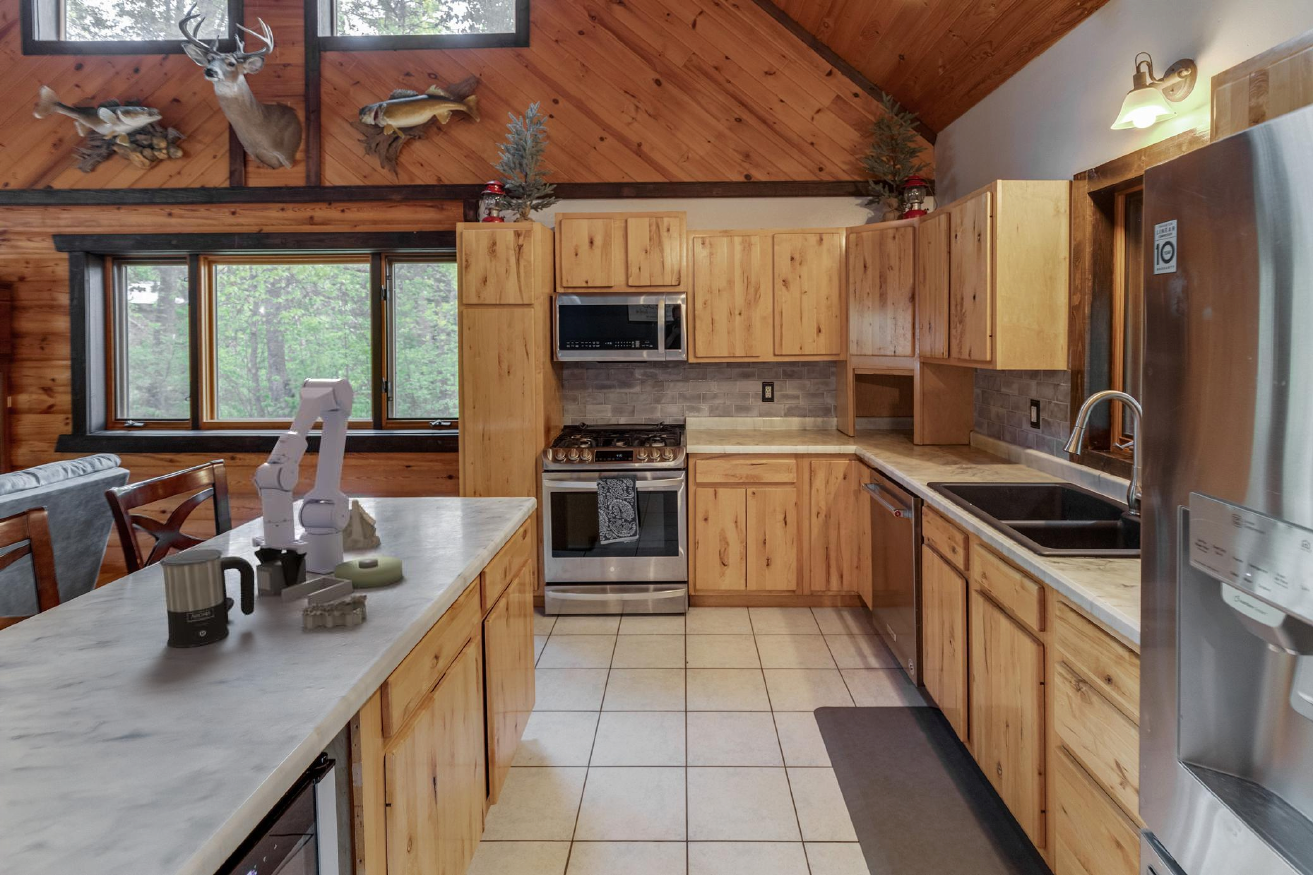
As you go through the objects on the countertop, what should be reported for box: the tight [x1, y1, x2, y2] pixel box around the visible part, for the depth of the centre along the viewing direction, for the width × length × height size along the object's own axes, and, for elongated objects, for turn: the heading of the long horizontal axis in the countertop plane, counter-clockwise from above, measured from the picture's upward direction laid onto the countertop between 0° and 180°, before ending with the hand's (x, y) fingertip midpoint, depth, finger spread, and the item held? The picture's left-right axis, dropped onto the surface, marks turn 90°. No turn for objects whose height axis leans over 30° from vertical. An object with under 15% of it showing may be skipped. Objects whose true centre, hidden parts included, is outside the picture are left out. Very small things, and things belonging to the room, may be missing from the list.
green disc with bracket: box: [281, 556, 403, 605], centre depth 156 cm, size 14×26×4 cm, turn 156°
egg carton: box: [300, 594, 368, 629], centre depth 135 cm, size 11×8×4 cm
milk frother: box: [158, 548, 255, 648], centre depth 130 cm, size 14×16×15 cm
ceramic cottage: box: [323, 499, 381, 551], centre depth 192 cm, size 16×16×15 cm
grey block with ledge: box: [255, 558, 308, 597], centre depth 153 cm, size 8×5×6 cm, turn 156°
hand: (282, 582), depth 154 cm, fingers closed on grey block with ledge, 5 cm apart
